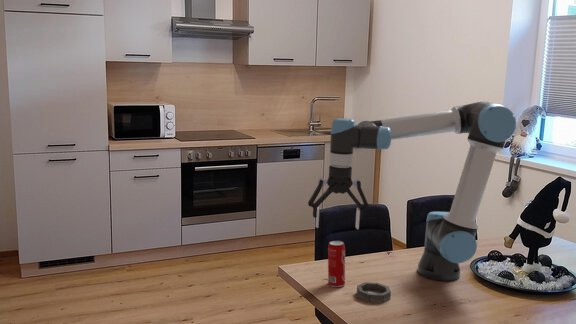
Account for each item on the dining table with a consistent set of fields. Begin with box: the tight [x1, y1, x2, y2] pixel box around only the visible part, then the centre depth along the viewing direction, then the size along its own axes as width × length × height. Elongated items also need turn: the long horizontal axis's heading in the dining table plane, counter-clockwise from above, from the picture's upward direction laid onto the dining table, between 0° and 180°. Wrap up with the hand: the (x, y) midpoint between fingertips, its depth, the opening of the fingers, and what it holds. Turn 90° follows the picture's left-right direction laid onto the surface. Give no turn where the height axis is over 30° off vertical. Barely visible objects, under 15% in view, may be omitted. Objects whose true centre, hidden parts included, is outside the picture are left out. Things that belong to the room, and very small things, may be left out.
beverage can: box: [327, 240, 346, 288], centre depth 191 cm, size 6×6×15 cm
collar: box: [356, 281, 392, 304], centre depth 184 cm, size 10×10×2 cm
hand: (337, 227), depth 189 cm, fingers open, 13 cm apart
